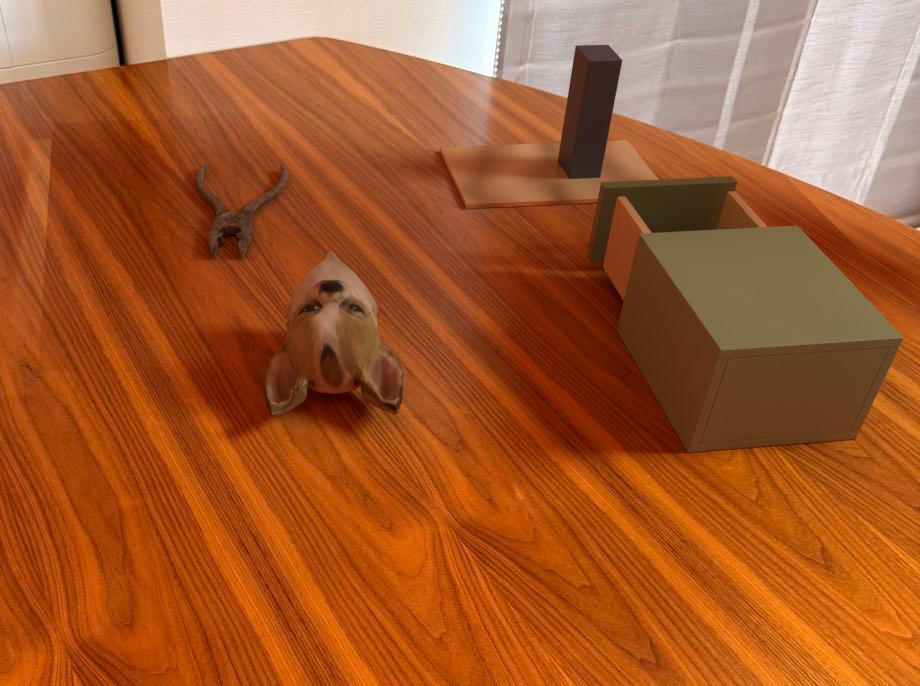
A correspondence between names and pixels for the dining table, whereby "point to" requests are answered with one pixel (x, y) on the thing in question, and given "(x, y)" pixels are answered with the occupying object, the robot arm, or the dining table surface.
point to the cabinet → (753, 338)
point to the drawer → (660, 216)
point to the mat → (534, 174)
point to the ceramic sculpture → (332, 344)
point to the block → (589, 110)
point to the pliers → (234, 214)
